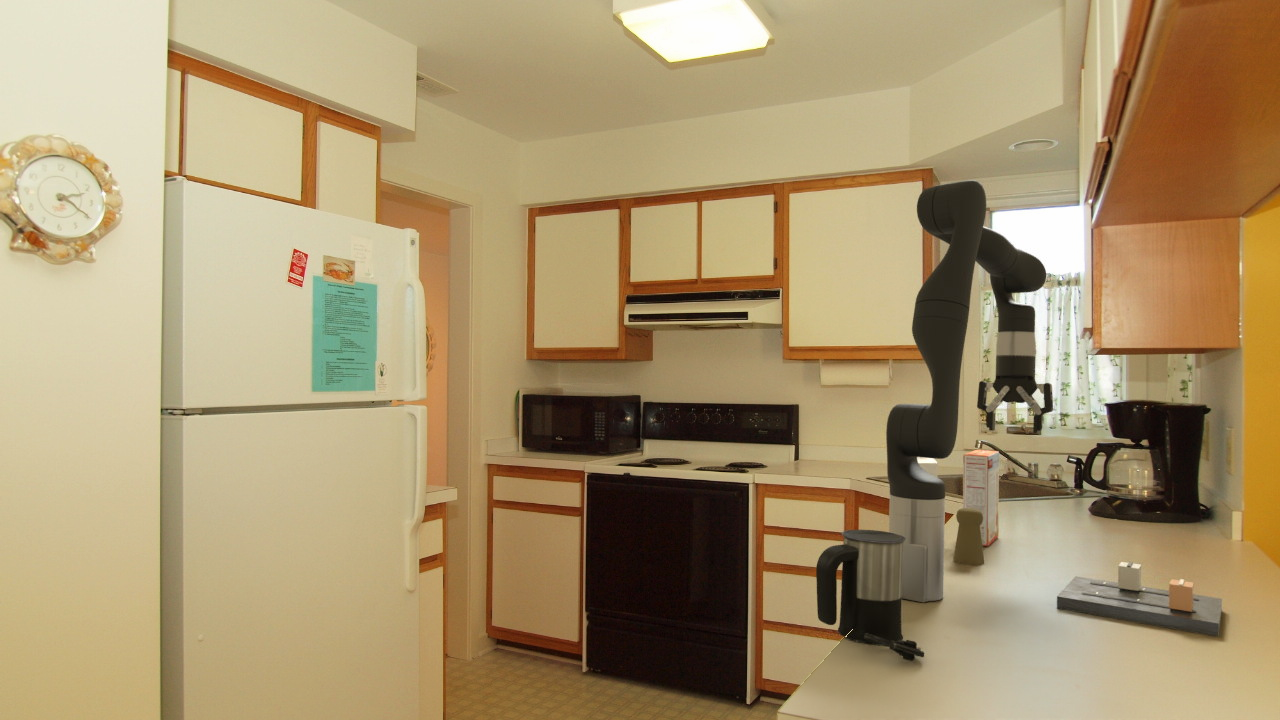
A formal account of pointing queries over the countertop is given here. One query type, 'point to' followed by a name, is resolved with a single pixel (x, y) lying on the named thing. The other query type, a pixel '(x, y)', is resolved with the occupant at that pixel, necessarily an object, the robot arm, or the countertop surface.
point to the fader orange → (1181, 595)
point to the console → (1140, 606)
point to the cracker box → (983, 490)
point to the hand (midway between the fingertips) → (1013, 431)
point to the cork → (969, 537)
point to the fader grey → (1129, 576)
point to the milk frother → (865, 589)
